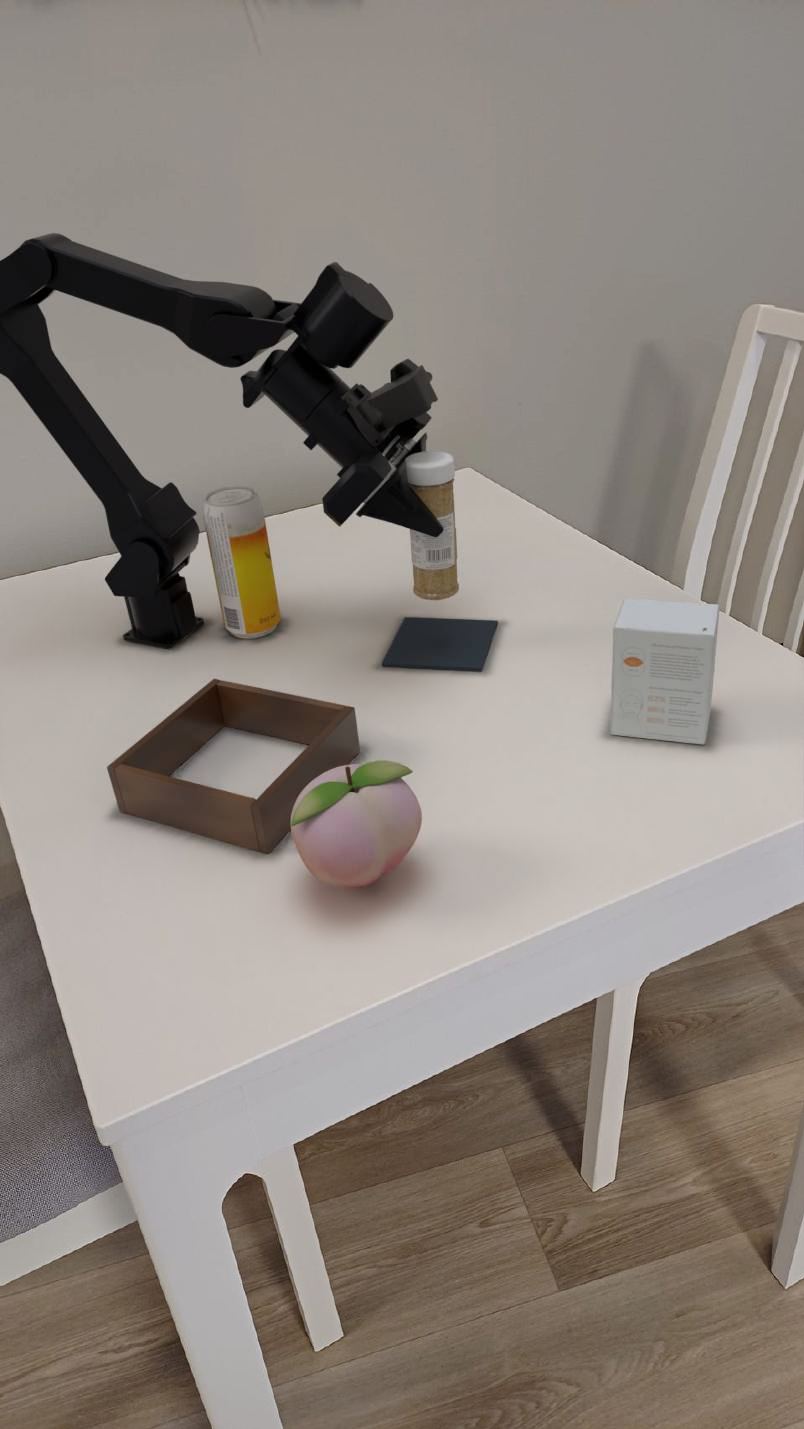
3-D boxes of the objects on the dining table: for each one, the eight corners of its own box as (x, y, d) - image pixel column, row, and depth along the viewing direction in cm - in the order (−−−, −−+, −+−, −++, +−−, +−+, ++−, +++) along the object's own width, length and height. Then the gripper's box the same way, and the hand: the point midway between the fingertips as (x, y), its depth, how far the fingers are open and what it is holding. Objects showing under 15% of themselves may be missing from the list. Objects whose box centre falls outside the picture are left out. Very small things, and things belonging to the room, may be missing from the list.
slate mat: (381, 666, 98) (381, 663, 98) (405, 620, 106) (404, 616, 106) (481, 671, 96) (481, 668, 95) (497, 623, 104) (497, 620, 103)
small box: (711, 711, 87) (722, 603, 81) (705, 747, 82) (717, 635, 77) (618, 701, 89) (623, 595, 83) (608, 735, 85) (612, 626, 79)
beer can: (291, 618, 108) (271, 486, 100) (262, 644, 104) (239, 508, 96) (245, 611, 111) (221, 482, 103) (214, 636, 106) (187, 502, 98)
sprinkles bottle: (459, 581, 99) (454, 448, 91) (458, 601, 95) (453, 464, 88) (413, 582, 99) (405, 450, 92) (410, 603, 95) (401, 466, 88)
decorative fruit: (373, 823, 77) (360, 715, 72) (445, 872, 72) (437, 759, 66) (274, 882, 72) (252, 770, 67) (343, 939, 67) (325, 823, 61)
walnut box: (119, 811, 81) (106, 766, 79) (222, 720, 92) (213, 678, 89) (268, 854, 75) (259, 807, 73) (360, 750, 86) (355, 707, 83)
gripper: (344, 365, 78) (486, 504, 81) (404, 315, 93) (521, 434, 96) (265, 462, 84) (399, 587, 87) (333, 400, 99) (445, 509, 102)
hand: (445, 524), depth 93 cm, fingers closed on sprinkles bottle, 4 cm apart
